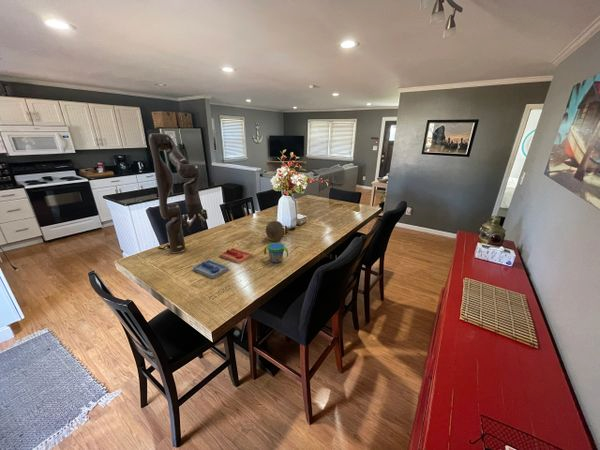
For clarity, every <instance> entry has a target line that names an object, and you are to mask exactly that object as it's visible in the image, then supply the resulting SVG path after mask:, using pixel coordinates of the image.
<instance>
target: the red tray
mask: <svg viewBox="0 0 600 450" xmlns="http://www.w3.org/2000/svg"><path fill="white" fill-rule="evenodd" d="M229 250H232V251H235V252H238V254H239V253H242V254H243V258H241V259H237V258H236V256H233V255H230V254H227V250H225V251H223V252H221V253H219V257H221V258H223V259H226V260H228V261H231V262H233V263H237V264H241V263H243V262H244V261H246V260H248V259H250V258H252V257H253V256H252V253H251V252H247V251H244V250H242V249H237V248H235V247H231V248H229Z"/></svg>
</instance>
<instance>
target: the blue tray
mask: <svg viewBox="0 0 600 450" xmlns="http://www.w3.org/2000/svg"><path fill="white" fill-rule="evenodd" d="M203 262H206V263H208V264H210V265H213V266H214V267H219V269H220V271H219V272H217V273H211V270H210V269H207V268H205V267H203V266H202V262H200V263H198V264H196V265H194V266H192V270H193V271H194V272H197V273H199V274H201V275H202V276H206V277H208V278H209V279H215V278H217V277H219V276H220V275H222V274H224V273H226V272H228V271H229V266H227V265H225V264H222V263H220V262H218V261H217V262H216V261H214V260H212V259H206V260H205V261H203Z"/></svg>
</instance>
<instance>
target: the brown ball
mask: <svg viewBox="0 0 600 450" xmlns="http://www.w3.org/2000/svg"><path fill="white" fill-rule="evenodd" d="M265 234H266V237H267V238H268V239H269V240H270V241H273V242H279V241H281V240H282V238H283V237H284V234H285V228H284V226H283V224H282V223H281V222H280V221H278V220H273V221H270V222H268V223H267V224H266V227H265Z"/></svg>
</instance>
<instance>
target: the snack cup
mask: <svg viewBox="0 0 600 450" xmlns="http://www.w3.org/2000/svg"><path fill="white" fill-rule="evenodd" d="M267 250H268V256H269V259H270V262H271V263H276V264H278V263H281V262H282V261H283V259H284V258H283V257H284V251H285V252H286V258H288V257H289V249H288V248H287V247H285V244H284V243H281V242H271V243H269V244H267V245H266V246H265V247H264V249H263V254H264V255H267Z"/></svg>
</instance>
